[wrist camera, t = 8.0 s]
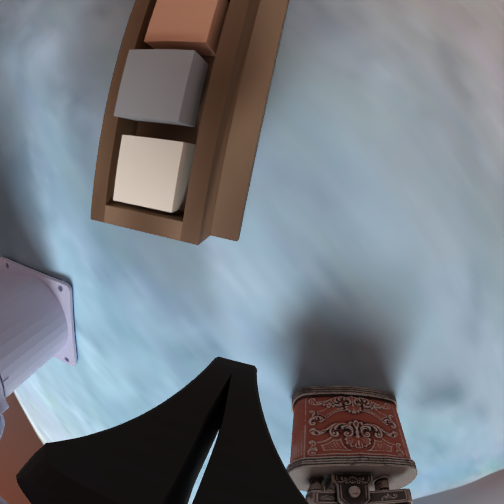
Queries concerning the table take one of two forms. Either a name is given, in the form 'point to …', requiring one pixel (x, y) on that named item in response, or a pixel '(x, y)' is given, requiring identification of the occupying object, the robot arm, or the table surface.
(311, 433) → the lighter
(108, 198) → the keypad board
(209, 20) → the key terracotta
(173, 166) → the key cream
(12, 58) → the table surface
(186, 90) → the key slate
